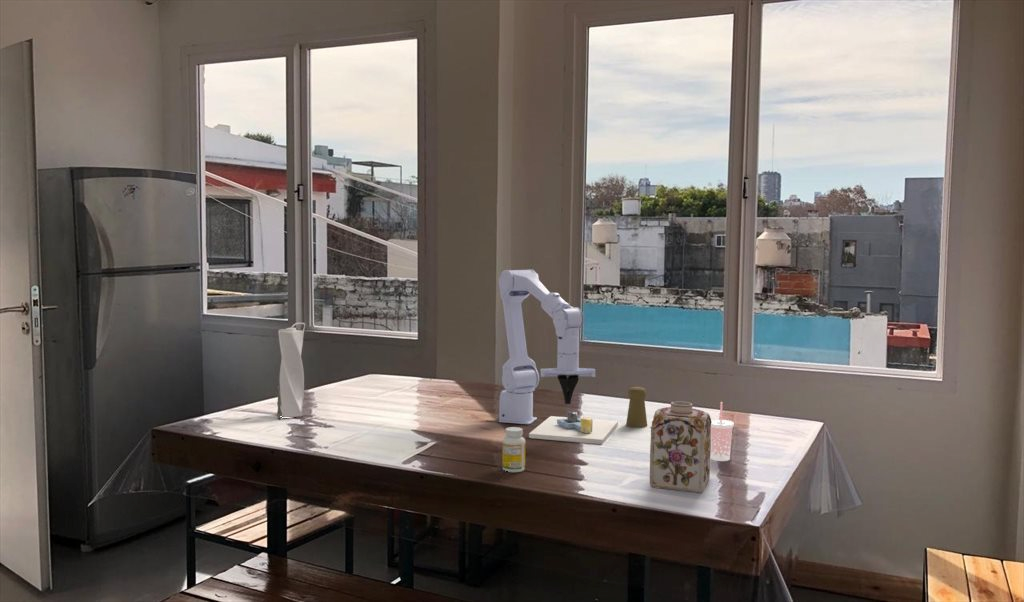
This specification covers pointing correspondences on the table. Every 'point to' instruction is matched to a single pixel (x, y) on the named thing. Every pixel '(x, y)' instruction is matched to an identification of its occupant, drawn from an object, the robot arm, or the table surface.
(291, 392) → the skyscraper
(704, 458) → the decorative jar
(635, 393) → the cork
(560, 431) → the base plate
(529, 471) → the table surface
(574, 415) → the post
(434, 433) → the table surface
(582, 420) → the square ring with handle
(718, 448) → the beverage cup
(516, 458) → the supplement bottle
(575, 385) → the robot arm
